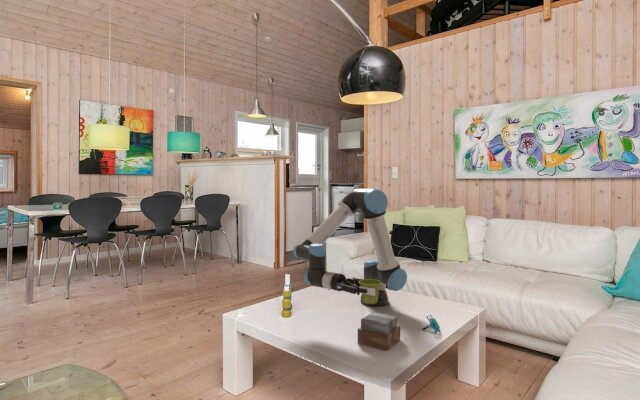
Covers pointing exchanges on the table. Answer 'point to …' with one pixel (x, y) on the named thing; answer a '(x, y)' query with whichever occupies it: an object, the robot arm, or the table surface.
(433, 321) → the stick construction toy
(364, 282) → the plant pot
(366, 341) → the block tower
